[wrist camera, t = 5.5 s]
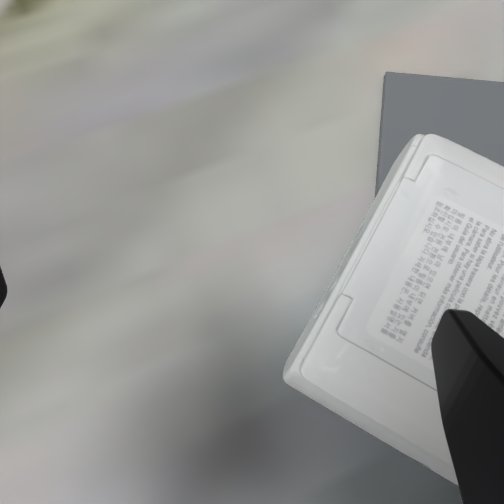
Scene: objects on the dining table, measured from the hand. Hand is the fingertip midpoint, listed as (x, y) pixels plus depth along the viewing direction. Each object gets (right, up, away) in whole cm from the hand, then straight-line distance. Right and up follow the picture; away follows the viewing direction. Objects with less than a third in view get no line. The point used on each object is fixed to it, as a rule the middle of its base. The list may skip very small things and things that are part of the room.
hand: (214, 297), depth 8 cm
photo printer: (+4, +1, +7) cm, 8 cm away
